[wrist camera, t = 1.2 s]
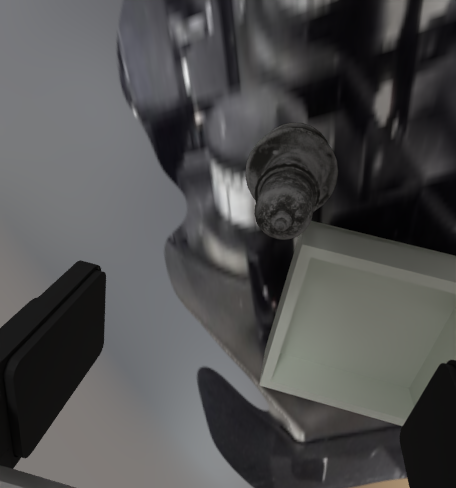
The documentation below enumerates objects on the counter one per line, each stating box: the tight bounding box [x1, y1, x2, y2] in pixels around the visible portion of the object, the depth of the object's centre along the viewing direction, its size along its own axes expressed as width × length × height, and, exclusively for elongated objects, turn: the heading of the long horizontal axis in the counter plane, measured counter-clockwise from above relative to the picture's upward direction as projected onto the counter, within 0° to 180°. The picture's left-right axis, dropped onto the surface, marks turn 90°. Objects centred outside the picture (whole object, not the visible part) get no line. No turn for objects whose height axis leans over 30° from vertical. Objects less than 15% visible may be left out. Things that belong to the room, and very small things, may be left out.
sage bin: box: [259, 221, 456, 426], centre depth 31 cm, size 14×14×4 cm
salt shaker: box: [246, 123, 338, 240], centre depth 23 cm, size 6×6×12 cm
